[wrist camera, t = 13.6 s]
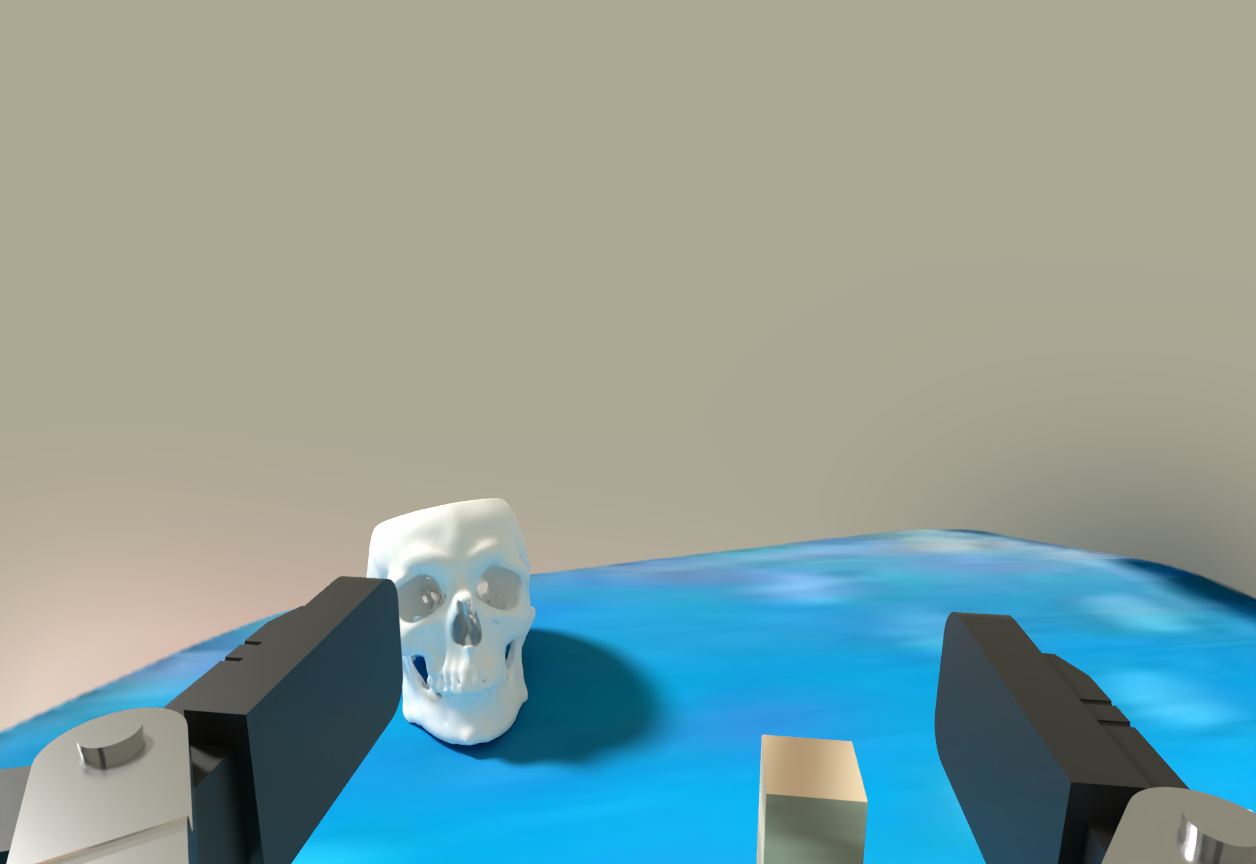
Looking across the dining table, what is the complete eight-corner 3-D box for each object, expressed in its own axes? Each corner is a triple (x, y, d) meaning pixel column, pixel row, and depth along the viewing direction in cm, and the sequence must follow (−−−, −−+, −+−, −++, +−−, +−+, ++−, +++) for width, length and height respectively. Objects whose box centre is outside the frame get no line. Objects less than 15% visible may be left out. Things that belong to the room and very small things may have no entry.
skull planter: (373, 768, 50) (356, 487, 55) (378, 739, 68) (365, 530, 73) (575, 729, 54) (543, 471, 59) (529, 711, 73) (507, 516, 77)
